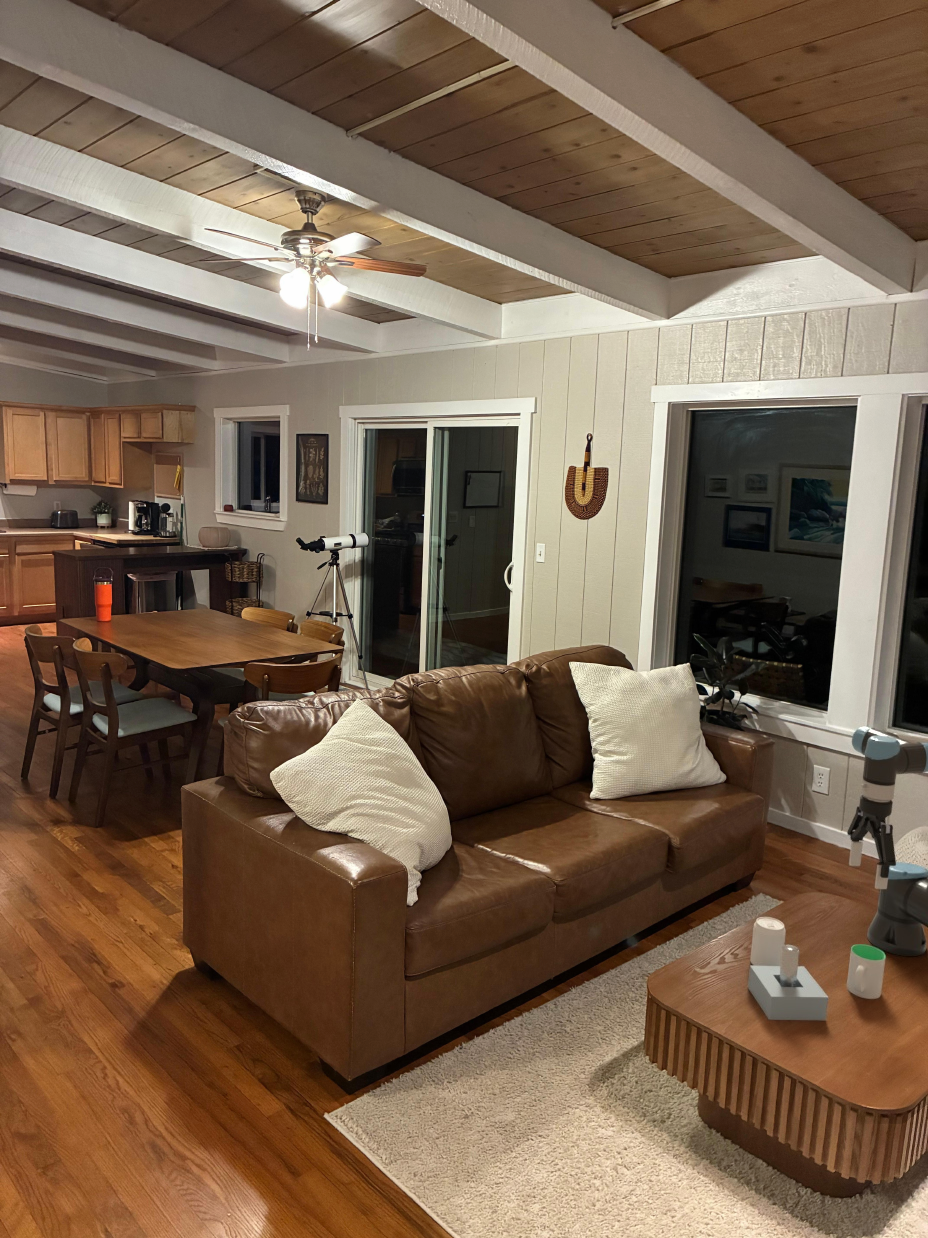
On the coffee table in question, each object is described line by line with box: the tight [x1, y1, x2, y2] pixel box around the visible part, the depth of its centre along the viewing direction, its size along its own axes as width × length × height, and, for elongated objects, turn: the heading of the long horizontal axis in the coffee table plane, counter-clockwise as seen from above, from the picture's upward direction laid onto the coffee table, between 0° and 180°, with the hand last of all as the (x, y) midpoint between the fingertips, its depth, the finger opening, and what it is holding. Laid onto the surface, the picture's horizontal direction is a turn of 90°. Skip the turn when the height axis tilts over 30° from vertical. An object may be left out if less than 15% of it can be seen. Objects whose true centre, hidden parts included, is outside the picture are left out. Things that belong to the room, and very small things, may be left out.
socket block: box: [747, 965, 829, 1021], centre depth 224 cm, size 14×14×6 cm
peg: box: [779, 944, 800, 987], centre depth 224 cm, size 4×4×14 cm
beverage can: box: [749, 916, 787, 966], centre depth 242 cm, size 8×8×12 cm
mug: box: [846, 943, 887, 1000], centre depth 230 cm, size 12×8×10 cm, turn 145°
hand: (867, 876), depth 233 cm, fingers open, 13 cm apart
